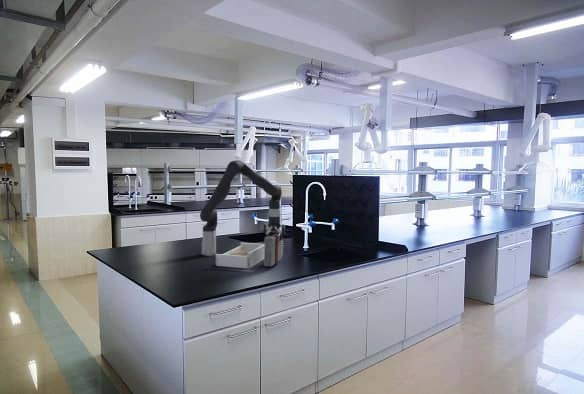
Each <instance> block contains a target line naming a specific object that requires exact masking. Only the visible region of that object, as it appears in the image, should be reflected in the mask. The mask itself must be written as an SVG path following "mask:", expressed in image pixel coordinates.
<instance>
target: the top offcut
mask: <svg viewBox="0 0 584 394" xmlns="http://www.w3.org/2000/svg"><path fill="white" fill-rule="evenodd" d="M249 252H250V251H245V250H243V251H239V252H236V253H232V254H230V255H238V256H246V255H247V253H249Z"/></svg>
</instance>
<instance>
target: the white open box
mask: <svg viewBox="0 0 584 394" xmlns="http://www.w3.org/2000/svg"><path fill="white" fill-rule="evenodd" d="M264 247H265V243H256V242H255V243H254V242H252V243H251V242H240V245H239V246H237V247H235V248H233V249H230V250H228V251H227V252H225V253H222V254H221V253H216V255H215V266H217V267H227V268H237V269H240V268H241V269H251V268H252V267H254V266H255V265H257V264H258V263H260V262H261V261H264ZM243 250H245V251H250V252H249V253H247V256H238V255H230V254H232V253H236V252H239V251H243Z"/></svg>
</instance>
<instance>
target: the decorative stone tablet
mask: <svg viewBox="0 0 584 394" xmlns="http://www.w3.org/2000/svg"><path fill="white" fill-rule="evenodd" d="M279 239H280V234H269V236H267V237H266V236H265V237H264V244H265V247H264V259H263V266H264V267H275V266H276V265H277V264H279V262H280V261H281V259H282V257H283V253H284V240H283V238H282V240H281V241H279Z"/></svg>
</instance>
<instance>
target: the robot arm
mask: <svg viewBox="0 0 584 394" xmlns="http://www.w3.org/2000/svg"><path fill="white" fill-rule="evenodd" d="M236 175H242V176H244V177H246V178H248V179H249V180H250V182H251V183H252V184H253V185H255V186H256V187H259V189H261V190H263V191H264V192H265V193H266V194H268V195H269V196H271V197H270V198H271V199H270V200H269V202H268V223H264V224H263V231H262V232H263V234H265V237H267V236H269V235H270V233H271V232H277V233H278V235H280V239H279V241H281V240H282V239H283V235H285V234H286V225H285V224H281V199H282V192H283V191H282V187H281V186H280V185H279V184H272V183H271V182H270V181H269V179H267V178H266V177H264V176H262V175H260V173H257V172H256V171H254V170H253V169H252V168H251V167H249V166H248V165H247V164H246V163H245V162H243V161H242V160H239V159H238V160H232V161H230V162H229V163H228V164H227V166H226V168H225V171H224V173H223V175H222V177H221V179H220V181H219V182H218V184H217V186H216V187H215V189H214V191H213V192H212V194H211V196H210V198H209V199H208V201H207V202H206V204H205V205H204V206H203V208H202V209H201V210H200V214H199V217H200V221H202V222H203V223H204V222H205V224H204V225H203V226H202V241H201V255H202V256H209V257H210V256H216V254H217V227H218V211H217V210H216V208H217V207H218V206H219V205H220V204H221V203H223V202H224V201H225V200H226V198H227V197H228V195H229V194H230V192H231V186H232V185H231V184H232V181H233V180H234V178H235V177H236ZM267 228H268V229H267ZM281 229H282V230H281Z"/></svg>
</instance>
